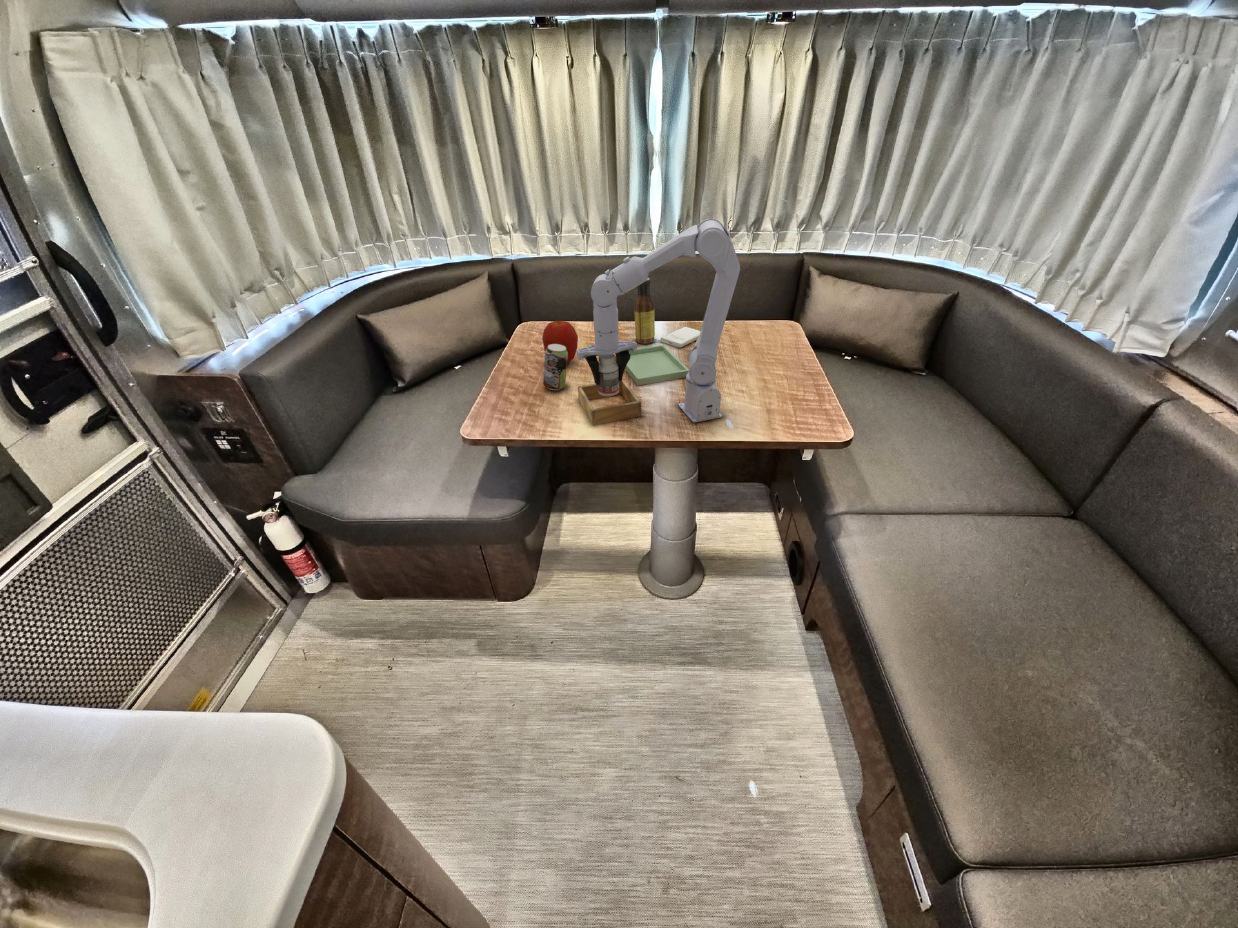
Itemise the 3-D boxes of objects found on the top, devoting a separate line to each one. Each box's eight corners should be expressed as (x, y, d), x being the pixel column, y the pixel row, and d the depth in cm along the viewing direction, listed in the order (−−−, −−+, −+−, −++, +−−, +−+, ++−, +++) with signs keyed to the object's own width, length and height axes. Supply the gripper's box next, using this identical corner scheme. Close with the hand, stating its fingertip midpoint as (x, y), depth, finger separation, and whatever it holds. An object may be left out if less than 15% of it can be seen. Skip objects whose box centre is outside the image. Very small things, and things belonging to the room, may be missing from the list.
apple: (546, 372, 155) (541, 326, 147) (543, 358, 163) (538, 313, 155) (581, 368, 156) (578, 322, 148) (577, 354, 164) (574, 310, 156)
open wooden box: (641, 416, 133) (641, 402, 131) (592, 425, 130) (591, 410, 128) (623, 392, 143) (623, 378, 141) (578, 400, 140) (577, 386, 138)
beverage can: (541, 384, 148) (536, 344, 141) (566, 380, 150) (563, 340, 143) (547, 394, 143) (542, 353, 136) (573, 389, 145) (570, 348, 138)
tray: (689, 376, 150) (689, 370, 149) (637, 385, 147) (637, 379, 145) (663, 350, 166) (663, 344, 164) (615, 358, 162) (615, 351, 161)
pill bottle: (596, 388, 136) (593, 352, 130) (616, 385, 137) (615, 350, 131) (600, 398, 131) (598, 361, 126) (621, 395, 132) (620, 358, 127)
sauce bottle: (658, 339, 173) (659, 277, 161) (648, 346, 168) (649, 283, 157) (640, 336, 176) (640, 274, 164) (630, 342, 171) (630, 280, 160)
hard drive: (704, 337, 174) (680, 348, 167) (684, 330, 179) (660, 341, 171) (704, 332, 173) (680, 343, 166) (684, 326, 178) (660, 336, 170)
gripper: (629, 319, 129) (630, 370, 137) (572, 327, 126) (576, 379, 134) (639, 329, 124) (639, 381, 132) (579, 338, 120) (583, 391, 128)
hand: (608, 381), depth 132 cm, fingers closed on pill bottle, 5 cm apart
